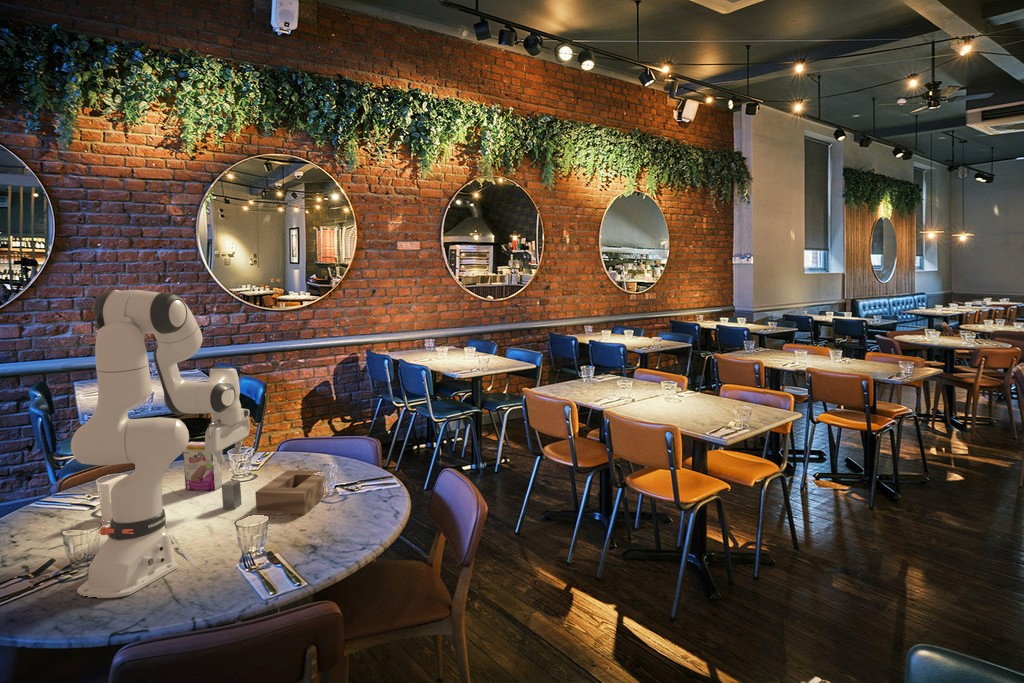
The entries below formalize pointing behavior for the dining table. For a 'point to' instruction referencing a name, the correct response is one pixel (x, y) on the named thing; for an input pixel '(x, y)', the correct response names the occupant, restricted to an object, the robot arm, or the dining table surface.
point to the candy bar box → (201, 468)
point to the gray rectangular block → (231, 495)
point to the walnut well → (291, 493)
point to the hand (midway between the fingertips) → (229, 458)
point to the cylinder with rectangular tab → (107, 497)
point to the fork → (184, 552)
